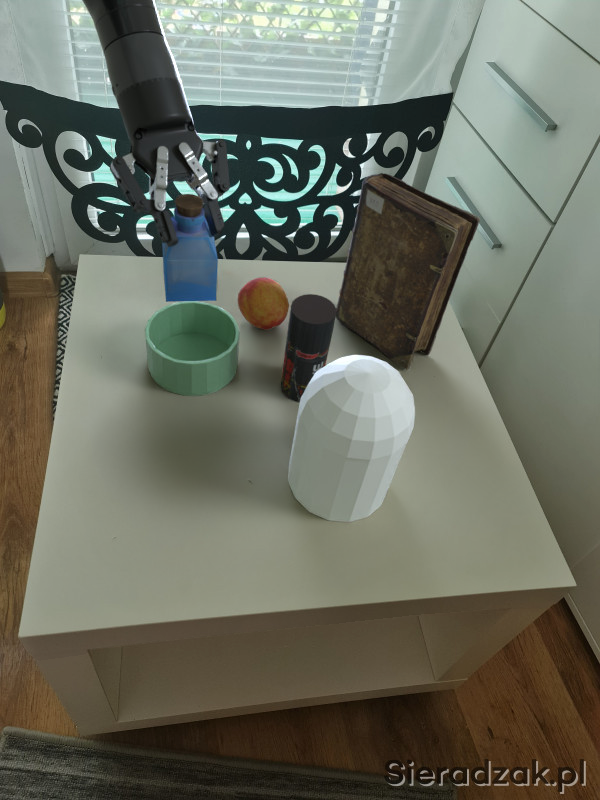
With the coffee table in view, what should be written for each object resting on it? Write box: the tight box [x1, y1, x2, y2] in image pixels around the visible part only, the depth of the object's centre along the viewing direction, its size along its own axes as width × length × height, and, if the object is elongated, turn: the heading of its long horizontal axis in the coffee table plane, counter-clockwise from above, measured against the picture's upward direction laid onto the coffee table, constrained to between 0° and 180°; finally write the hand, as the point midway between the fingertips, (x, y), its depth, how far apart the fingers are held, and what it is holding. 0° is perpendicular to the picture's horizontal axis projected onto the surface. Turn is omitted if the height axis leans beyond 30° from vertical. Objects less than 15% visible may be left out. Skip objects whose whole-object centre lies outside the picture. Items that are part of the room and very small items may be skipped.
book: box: [335, 172, 481, 371], centre depth 91 cm, size 17×7×25 cm, turn 42°
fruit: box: [237, 276, 290, 331], centre depth 96 cm, size 8×8×8 cm
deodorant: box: [279, 293, 337, 403], centre depth 85 cm, size 6×6×15 cm
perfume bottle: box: [161, 193, 219, 303], centre depth 74 cm, size 6×6×12 cm
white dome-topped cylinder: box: [287, 354, 416, 523], centre depth 73 cm, size 14×13×20 cm
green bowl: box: [144, 301, 241, 397], centre depth 89 cm, size 13×13×6 cm
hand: (195, 239), depth 72 cm, fingers closed on perfume bottle, 5 cm apart
